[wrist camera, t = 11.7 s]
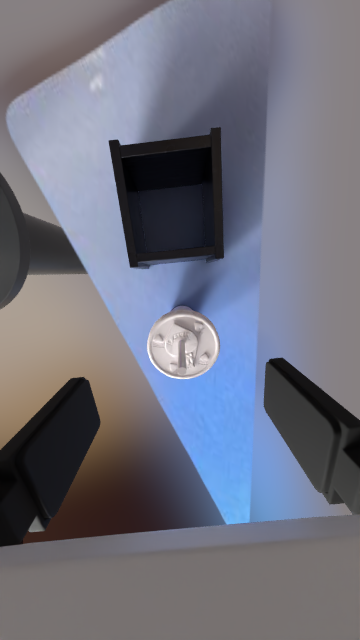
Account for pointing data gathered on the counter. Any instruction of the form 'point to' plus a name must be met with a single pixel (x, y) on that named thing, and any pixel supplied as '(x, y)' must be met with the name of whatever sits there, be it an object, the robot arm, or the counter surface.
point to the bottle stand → (166, 172)
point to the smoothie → (183, 343)
